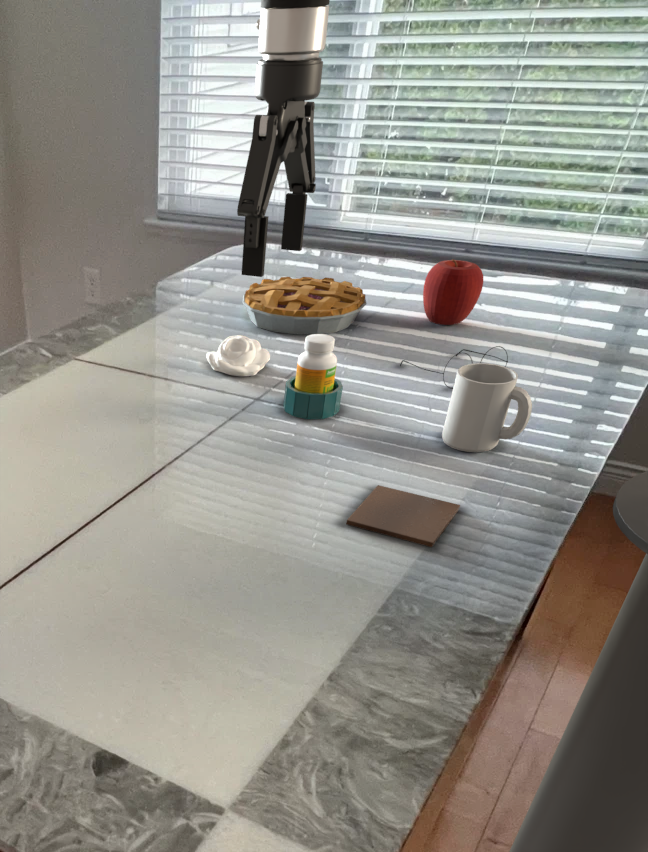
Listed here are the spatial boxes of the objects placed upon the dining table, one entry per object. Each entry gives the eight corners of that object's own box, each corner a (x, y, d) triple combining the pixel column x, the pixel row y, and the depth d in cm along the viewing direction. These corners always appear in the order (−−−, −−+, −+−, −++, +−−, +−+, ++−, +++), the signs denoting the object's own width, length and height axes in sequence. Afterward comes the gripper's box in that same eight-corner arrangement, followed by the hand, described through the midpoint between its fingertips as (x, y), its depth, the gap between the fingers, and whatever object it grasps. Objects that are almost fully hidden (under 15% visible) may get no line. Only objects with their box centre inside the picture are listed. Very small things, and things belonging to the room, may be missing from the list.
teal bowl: (346, 404, 122) (350, 380, 120) (325, 423, 118) (329, 398, 115) (297, 394, 126) (300, 370, 123) (274, 412, 121) (277, 388, 119)
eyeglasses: (393, 366, 133) (400, 333, 129) (461, 355, 135) (469, 322, 132) (436, 392, 125) (445, 357, 121) (507, 379, 127) (517, 344, 124)
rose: (268, 326, 135) (275, 347, 128) (265, 354, 138) (272, 376, 131) (206, 327, 136) (209, 348, 129) (204, 356, 139) (208, 378, 132)
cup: (450, 426, 116) (467, 359, 110) (526, 441, 111) (547, 373, 105) (433, 445, 111) (450, 377, 105) (511, 462, 107) (533, 392, 101)
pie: (229, 333, 147) (231, 302, 143) (253, 296, 162) (255, 267, 159) (357, 342, 141) (362, 310, 138) (369, 303, 156) (374, 274, 153)
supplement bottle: (324, 418, 119) (335, 347, 112) (287, 412, 121) (295, 342, 114) (333, 404, 123) (344, 334, 116) (297, 399, 124) (306, 330, 118)
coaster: (459, 509, 99) (460, 504, 98) (432, 547, 93) (433, 542, 92) (377, 489, 103) (377, 484, 102) (345, 524, 97) (346, 519, 96)
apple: (471, 315, 150) (486, 253, 143) (475, 333, 143) (491, 268, 136) (416, 313, 152) (428, 251, 145) (417, 330, 145) (430, 266, 138)
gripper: (297, 47, 105) (280, 237, 119) (214, 66, 89) (206, 283, 104) (356, 46, 102) (331, 242, 116) (281, 67, 86) (263, 290, 101)
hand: (272, 262), depth 110 cm, fingers open, 13 cm apart
